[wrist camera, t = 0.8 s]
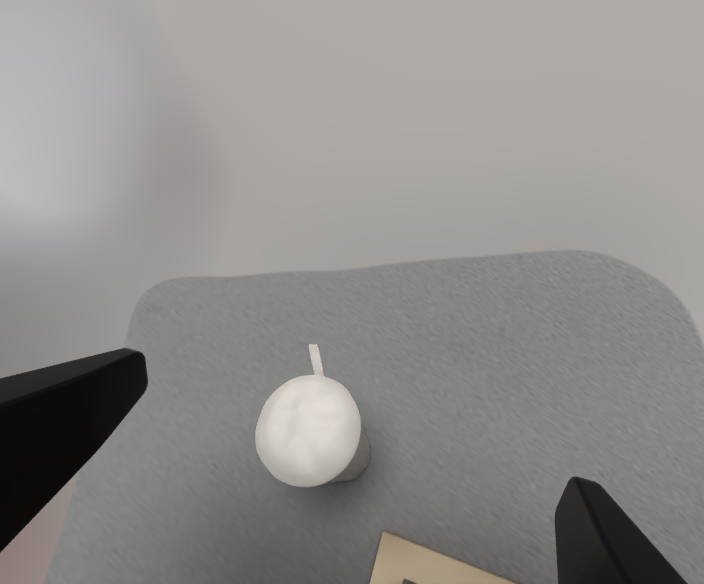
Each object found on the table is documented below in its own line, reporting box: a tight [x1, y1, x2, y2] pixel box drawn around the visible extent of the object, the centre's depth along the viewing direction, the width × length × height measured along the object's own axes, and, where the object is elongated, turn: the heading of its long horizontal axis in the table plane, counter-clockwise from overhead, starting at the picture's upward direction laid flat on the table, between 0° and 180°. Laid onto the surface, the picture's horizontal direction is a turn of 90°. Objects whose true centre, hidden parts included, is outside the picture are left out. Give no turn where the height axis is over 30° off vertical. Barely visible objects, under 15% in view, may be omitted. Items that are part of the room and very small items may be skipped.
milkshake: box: [255, 343, 371, 487], centre depth 20 cm, size 5×5×10 cm
